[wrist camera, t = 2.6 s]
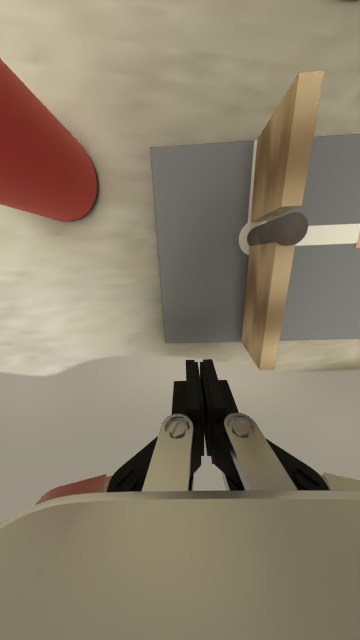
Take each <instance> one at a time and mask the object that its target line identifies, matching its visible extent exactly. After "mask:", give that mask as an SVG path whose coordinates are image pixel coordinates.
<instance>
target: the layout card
mask: <svg viewBox="0 0 360 640" xmlns="http://www.w3.org/2000/svg"><path fill="white" fill-rule="evenodd" d="M256 149H257V140H254V141H241V142H226V143H210V144H195V145H180V146H164V147H150V151H151V164H152V177H153V191H154V204H155V217H156V230H157V244H158V257H159V270H160V283H161V297H162V310H163V323H164V337H165V343H197V342H240V341H242V329H243V318H244V306H245V295H246V283H247V272H248V261H249V249H250V246H249V245H248V242H247V236H248V233H249V232H250V230H251V229H253V228H254V227H257V226H259V225H262V224H264V223H267V222H269V221H272V220H274V219H277V218H279V217H282V216H284V215H287V214H289V213H292V212H300V213H302V214H303V215H305V217H306V218H307V221H308V230H307V233H306V235H305V237H304V238H303V239H302V240H301V241H300V242H298V243H297V244H295V249H294V255H293V261H292V267H291V273H290V279H289V285H288V291H287V297H286V303H285V309H284V315H283V321H282V327H281V333H280V339H279V341H284V340H328V339H360V134H350V135H334V136H319V137H313V142H312V148H311V154H310V160H309V166H308V172H307V177H306V183H305V189H304V195H303V201H302V206H300V207H297V208H295V209H293V210H290V211H288V212H286V213H283V214H281V215H279V216H276V217H274V218H272V219H269V220H267V221H265V222H250V220H251V208H252V196H253V185H254V173H255V161H256Z"/></svg>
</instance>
